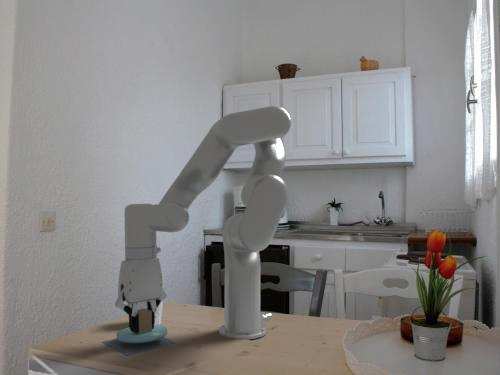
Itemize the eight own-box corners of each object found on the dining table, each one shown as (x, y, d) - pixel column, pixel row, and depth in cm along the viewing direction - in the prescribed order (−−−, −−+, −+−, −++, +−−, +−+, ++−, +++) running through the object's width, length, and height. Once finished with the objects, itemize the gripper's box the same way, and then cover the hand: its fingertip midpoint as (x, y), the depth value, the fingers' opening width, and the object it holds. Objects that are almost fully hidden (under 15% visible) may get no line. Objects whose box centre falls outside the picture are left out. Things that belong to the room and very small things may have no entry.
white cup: (156, 329, 114) (156, 292, 114) (129, 328, 115) (129, 291, 116) (167, 321, 121) (167, 287, 122) (142, 320, 123) (142, 286, 124)
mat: (148, 333, 111) (148, 331, 111) (176, 344, 101) (176, 342, 101) (101, 344, 102) (101, 341, 102) (126, 358, 92) (126, 355, 92)
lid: (151, 324, 110) (151, 302, 110) (176, 334, 102) (176, 310, 102) (107, 335, 102) (107, 311, 102) (131, 346, 93) (131, 320, 94)
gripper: (162, 249, 111) (163, 319, 110) (101, 256, 100) (102, 334, 99) (177, 251, 105) (179, 325, 105) (116, 258, 94) (117, 341, 93)
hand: (142, 328), depth 102 cm, fingers closed on lid, 3 cm apart
